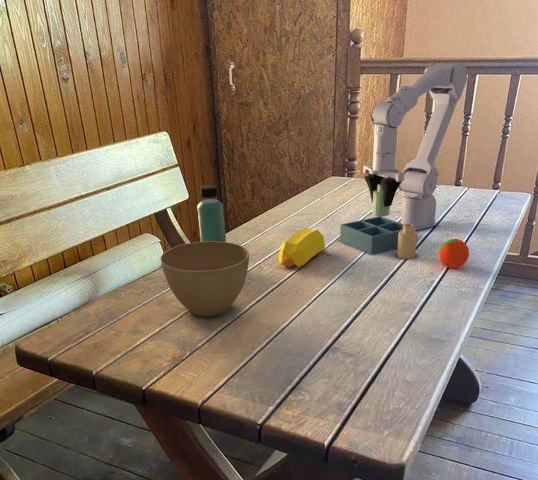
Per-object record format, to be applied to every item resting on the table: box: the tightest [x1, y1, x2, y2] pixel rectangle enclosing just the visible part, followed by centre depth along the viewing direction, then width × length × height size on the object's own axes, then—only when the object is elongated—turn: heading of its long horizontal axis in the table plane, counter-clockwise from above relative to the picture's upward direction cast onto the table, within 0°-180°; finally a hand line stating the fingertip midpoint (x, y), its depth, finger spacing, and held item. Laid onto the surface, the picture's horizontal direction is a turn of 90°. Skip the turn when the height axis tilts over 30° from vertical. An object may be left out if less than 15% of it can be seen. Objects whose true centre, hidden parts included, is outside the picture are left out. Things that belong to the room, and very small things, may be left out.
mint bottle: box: [371, 184, 391, 217], centre depth 158 cm, size 4×5×8 cm
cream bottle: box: [396, 224, 418, 260], centre depth 147 cm, size 4×5×8 cm
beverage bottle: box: [196, 185, 227, 242], centre depth 142 cm, size 6×7×20 cm
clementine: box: [438, 238, 470, 269], centre depth 139 cm, size 8×7×7 cm
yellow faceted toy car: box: [278, 227, 326, 269], centre depth 148 cm, size 18×7×8 cm
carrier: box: [339, 216, 404, 255], centre depth 158 cm, size 14×14×5 cm
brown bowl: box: [160, 241, 250, 317], centre depth 122 cm, size 18×18×12 cm
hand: (381, 203), depth 158 cm, fingers closed on mint bottle, 4 cm apart
